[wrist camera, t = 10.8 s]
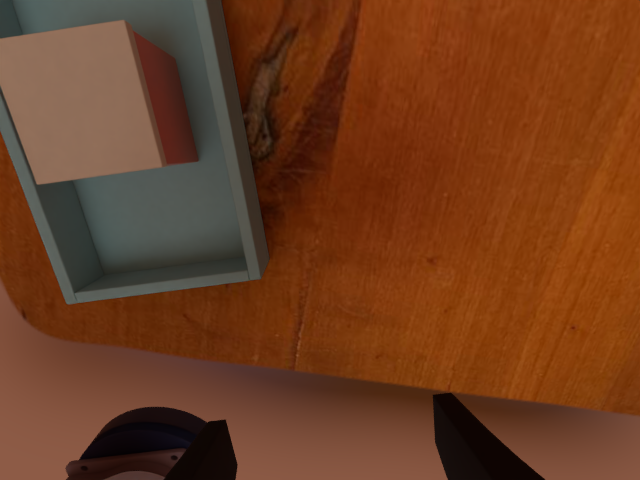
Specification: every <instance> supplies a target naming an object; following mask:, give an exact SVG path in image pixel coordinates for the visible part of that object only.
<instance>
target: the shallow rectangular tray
mask: <svg viewBox="0 0 640 480" xmlns="http://www.w3.org/2000/svg"><path fill="white" fill-rule="evenodd" d="M118 20H125V21H127V22H128V23H130V24H131V26H132V30H133V31H134V32H136V33H137V34H139V35H141V36H142V37H144V38H145V39H147V40H148V41H150V42H151V43H153V44H154V45H156V46H157V47H159V48H160V49H162V50H163V51H165V52H166V53H168V54H169V55H171V56H172V57H174V58H175V60H176V64H177V68H178V73H179V77H180V81H181V86H182V90H183V94H184V99H185V103H186V107H187V112H188V116H189V121H190V125H191V129H192V134H193V138H194V142H195V147H196V151H197V155H198V160H199V161H198V162H193V163H185V164H178V165H171V166H167V167H163V168H155V169H148V170H141V171H134V172H127V173H120V174H113V175H106V176H98V177H91V178H84V179H77V180H70V181H63V182H56V183H49V184H41V185H38V184H37V183H36V181H35V178H34V175H33V173H32V170H31V167H30V164H29V162H28V159H27V156H26V154H25V151H24V148H23V145H22V143H21V140H20V137H19V135H18V132H17V129H16V126H15V124H14V121H13V118H12V116H11V113H10V110H9V107H8V105H7V102H6V99H5V97H4V94H3V91H2V88H1V86H0V131H1V133H2V136H3V139H4V141H5V144H6V147H7V149H8V152H9V154H10V157H11V160H12V162H13V165H14V168H15V170H16V173H17V175H18V178H19V181H20V183H21V186H22V188H23V191H24V194H25V196H26V199H27V202H28V204H29V207H30V209H31V212H32V215H33V217H34V220H35V222H36V225H37V228H38V230H39V233H40V236H41V238H42V241H43V243H44V246H45V249H46V251H47V254H48V257H49V259H50V262H51V264H52V267H53V270H54V272H55V275H56V277H57V280H58V283H59V285H60V288H61V291H62V293H63V296H64V298H65V301H66V304H74V303H81V302H89V301H97V300H104V299H112V298H120V297H127V296H135V295H143V294H150V293H158V292H166V291H173V290H181V289H189V288H196V287H204V286H212V285H220V284H227V283H235V282H243V281H249V280H258V279H261V278H262V275H263V273H264V271H265V268H266V266H267V264H268V262H269V253H268V248H267V243H266V237H265V232H264V227H263V221H262V216H261V211H260V205H259V200H258V194H257V189H256V184H255V178H254V173H253V168H252V162H251V157H250V152H249V146H248V141H247V136H246V130H245V125H244V120H243V114H242V109H241V103H240V98H239V93H238V87H237V82H236V77H235V71H234V66H233V61H232V55H231V50H230V45H229V39H228V34H227V29H226V23H225V18H224V13H223V7H222V2H221V0H0V38H7V37H14V36H20V35H27V34H33V33H40V32H46V31H53V30H59V29H66V28H72V27H79V26H86V25H92V24H99V23H105V22H112V21H118Z"/></svg>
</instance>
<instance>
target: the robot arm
mask: <svg viewBox="0 0 640 480" xmlns="http://www.w3.org/2000/svg"><path fill="white" fill-rule="evenodd" d="M433 405H434V427H435V443H436V446H437V449H438V452H439V455H440V458H441V461H442V464H443V467H444V470H445V473H446V476H447V478H448V480H545V479H544V478H543V477H541V476H540V475H539V474H538V473H536V472H535V471H534V470H533V469H532V468H531V467H529V466H528V465H527V464H526V463H525V462H523V461H522V460H521V459H520V458H519V457H518V456H516V455H515V454H514V453H513V452H512V451H511V450H510V449H509V448H508V447H506V446H505V445H504V444H503V443H502V442H501V441H500V440H499V439H498V438H497V437H496V436H495V435H493V434H492V433H491V432H490V431H489V430H488V429H487V428H486V427H485V426H484V425H483V424H482V423H481V422H480V421H479V420H478V419H477V418H476V417H475V416H474V415H473V414H472V413H471V412H470V411H469V410H468V409H467V408H466V407H465V406H464V405H463V404H462V403H461V402H460V401H459V400H458V399H457V398H456V397H455V396H454V395H453V394H452V393H444V394H436V395H433ZM65 469H66V472H67V474H68V476H69V477H68V478H67V479H66V480H235V479H236V472H237V461H236V457H235V454H234V450H233V446H232V442H231V438H230V434H229V431H228V427H227V423H226V420H218V421H210V422H208V423H207V424H206V425H205V427H204V428H203V429H202V430H201V432H200V433H199V434H198V436H197V437H196V438H195V440H194V441H193V442H192V443H191V445H190V446H189V447H188V449H185V448H176V449H168V450H159V451H151V452H142V453H134V454H125V455H117V456H108V457H100V458H91V459H83V460H74V461H71V462H69V463H68V465H67V466H66V468H65Z"/></svg>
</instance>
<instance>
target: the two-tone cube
mask: <svg viewBox="0 0 640 480" xmlns="http://www.w3.org/2000/svg"><path fill="white" fill-rule="evenodd" d="M0 86H1V88H2V91H3V94H4V97H5V99H6V102H7V105H8V107H9V110H10V113H11V116H12V118H13V121H14V124H15V126H16V129H17V132H18V135H19V137H20V140H21V143H22V145H23V148H24V151H25V154H26V156H27V159H28V162H29V164H30V167H31V170H32V173H33V175H34V178H35V181H36V183H37V184H38V185H41V184H49V183H56V182H63V181H70V180H77V179H84V178H91V177H98V176H106V175H113V174H120V173H127V172H134V171H141V170H148V169H155V168H163V167H167V166H171V165H178V164H185V163H193V162H198V161H199V160H198V155H197V151H196V147H195V142H194V138H193V134H192V129H191V125H190V121H189V116H188V112H187V107H186V103H185V99H184V94H183V90H182V86H181V81H180V77H179V73H178V68H177V64H176V60H175V58H174V57H172V56H171V55H169V54H168V53H166V52H165V51H163V50H162V49H160V48H159V47H157V46H156V45H154V44H153V43H151V42H150V41H148V40H147V39H145V38H144V37H142V36H141V35H139V34H137V33H136V32H134V31H133V30H132V26H131V24H130V23H128V22H127V21H125V20H118V21H112V22H105V23H99V24H92V25H86V26H79V27H72V28H66V29H59V30H53V31H46V32H40V33H33V34H27V35H20V36H14V37H7V38H0Z"/></svg>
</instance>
